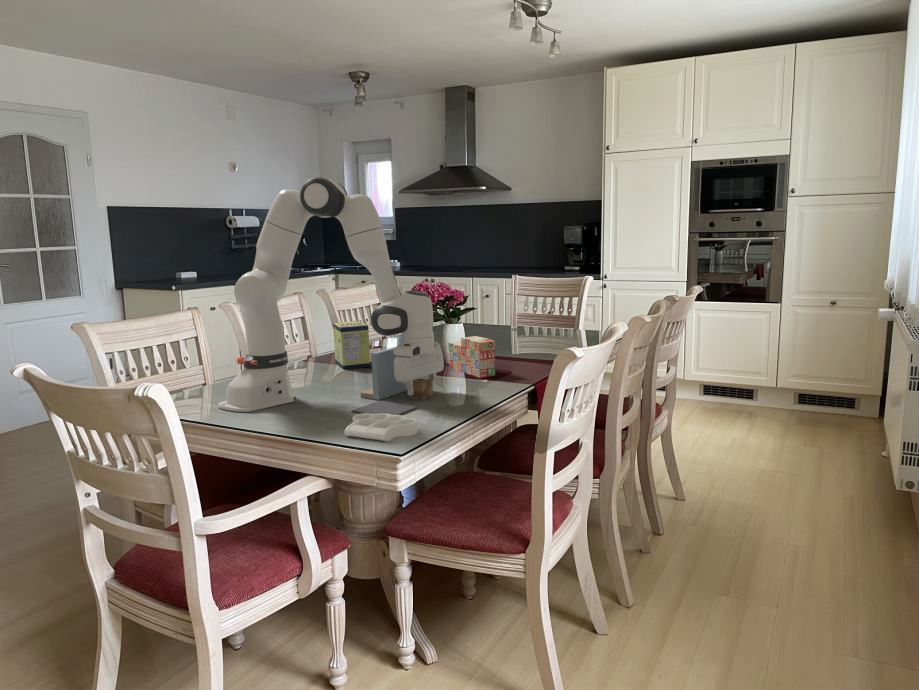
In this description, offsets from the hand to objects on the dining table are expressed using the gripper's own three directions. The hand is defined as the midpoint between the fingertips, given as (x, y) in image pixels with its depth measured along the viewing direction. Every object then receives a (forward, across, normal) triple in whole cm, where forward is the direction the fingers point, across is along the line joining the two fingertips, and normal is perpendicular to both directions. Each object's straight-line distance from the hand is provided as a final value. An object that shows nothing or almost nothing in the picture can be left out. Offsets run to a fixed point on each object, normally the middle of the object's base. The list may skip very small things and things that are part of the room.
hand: (421, 391), depth 201 cm
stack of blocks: (+2, -37, -6) cm, 38 cm away
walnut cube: (+2, 0, 0) cm, 2 cm away
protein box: (+2, -28, -53) cm, 60 cm away
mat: (+2, +17, 0) cm, 17 cm away
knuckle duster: (+2, +33, +12) cm, 35 cm away
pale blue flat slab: (+2, 0, -12) cm, 13 cm away
